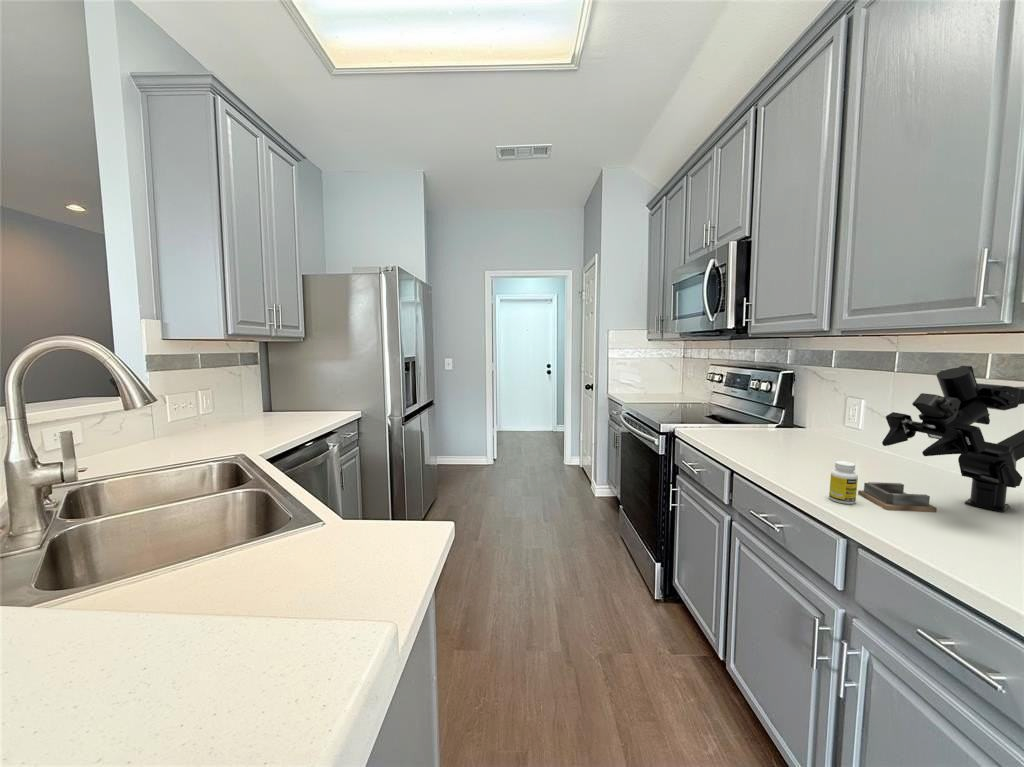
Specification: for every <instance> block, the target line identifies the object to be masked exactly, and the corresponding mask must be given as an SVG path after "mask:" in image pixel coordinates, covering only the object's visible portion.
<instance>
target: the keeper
mask: <svg viewBox="0 0 1024 767" xmlns="http://www.w3.org/2000/svg"><path fill="white" fill-rule="evenodd" d="M863 484H864V485H863V490H859V489H857V495H859V496H860V497H862V498H864V499H866V500H868V501H870V502H871V503H873V504H875V505H876V506H878V507H880V508H883V509H884V510H885V511H902V512H903V511H905V512H906V511H908V512H933V513H934V512H935V513H936V512H937V511H938V510H937V508H938V507H936V506H935V505H932V504H930V499H931V498H930V495H927V494H923V493H922V494H919V493H907V492H904V491H905V490H904V488H905V484H903V483H901V482H875V481H872V482H871V481H870V482H869V481H868V482H864V483H863Z"/></svg>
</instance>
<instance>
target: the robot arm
mask: <svg viewBox="0 0 1024 767" xmlns="http://www.w3.org/2000/svg"><path fill="white" fill-rule="evenodd" d="M936 379H937V381H938V384H939V386H940V390H941V391H942V394H943V395H938V394H931V393H920V394H919V395H918V397H917V398H916V399H914V401H913V402H912V404H911V405H912V406H913V407H915V408H916V409H917V410H918V411H919V412H920V414H918V418H919V420H921V422H920V421H915V420H913V419H912V416H911V415H910V414H906V413H900V412H891V413H889V414H887V415H886V416H885V420H886V422H887V424H888V427H889V430H888V432H887V434H886V435H885V437H884V438H883V440H882V442H881V444H882V446H884V447H888V446H892V445H896V444H900V443H904V442H907V441H909V439H912V438H914V437H915V436H916V433H917V432H918V433H922V434H927V436H928V438H931V439H935V440H936V441H934V443H931V445H929V446H927V447H926V448H925V449H924V450H923V451H922V456H923V457H933V456H945V455H959V456H958V466H959V469H960V473H961V476H962V477H964V478H965V477H966V478H969V479H971V488H970V489H971V490H970V498H968V499H967V500H965V501H964V504H965V505H967V506H973V507H976V508H982V509H987V510H991V511H995V512H1001V513H1005V512H1006V511H1007V510H1008V509H1009V508H1010V507H1011V504H1009V503H1006V500H1007V489H1008V488H1015V489H1016V488H1017V487H1020V485H1021V483H1022V481H1023V476H1021V475H1022V474H1020V473H1019V471H1017V462H1018V461H1019V460H1021V459H1023V458H1024V429H1022V430H1020V431H1017V432H1016V433H1015V434H1013V435H1011V436H1008V437H1007V438H1005V439H1003V440H1001V441H999V442H997V443H996V442H995V443H994V442H990V441H985V439H984V435H983V433H982V429H981V428H980V426H976V425H973V424H974V423H976V424H983V425H990V422H991V419H990V415H991V414H990V413H989V409H991V410H998V411H1008V410H1012V409H1016V408H1018V407H1019V405H1024V386H1012V385H1011V386H1010V385H1001V384H990V383H980V382H979V383H978V382H977V380H976V377H975V373H974V368H973V366H971V365H960V366H959V367H952V368H947V369H944V370H940V371H939V372H937V373H936Z"/></svg>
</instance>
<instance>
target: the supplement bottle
mask: <svg viewBox="0 0 1024 767" xmlns="http://www.w3.org/2000/svg"><path fill="white" fill-rule="evenodd" d="M834 468H835V469H832V470H831V471H830V472H831V473H830V481H829V482H830V483H829V494H828V495H829V496H828V497H829V500H831V501H833V502H835V503H839V504H843V505H853V504H856V501H857V493H858V489H857V488H858V479H859V478H858V477H859V476H858V474H857V473H856V472H855V470H856V464H855V463H853V462H850V461H844V460H843V461H842V460H837V461H835V462H834Z"/></svg>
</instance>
